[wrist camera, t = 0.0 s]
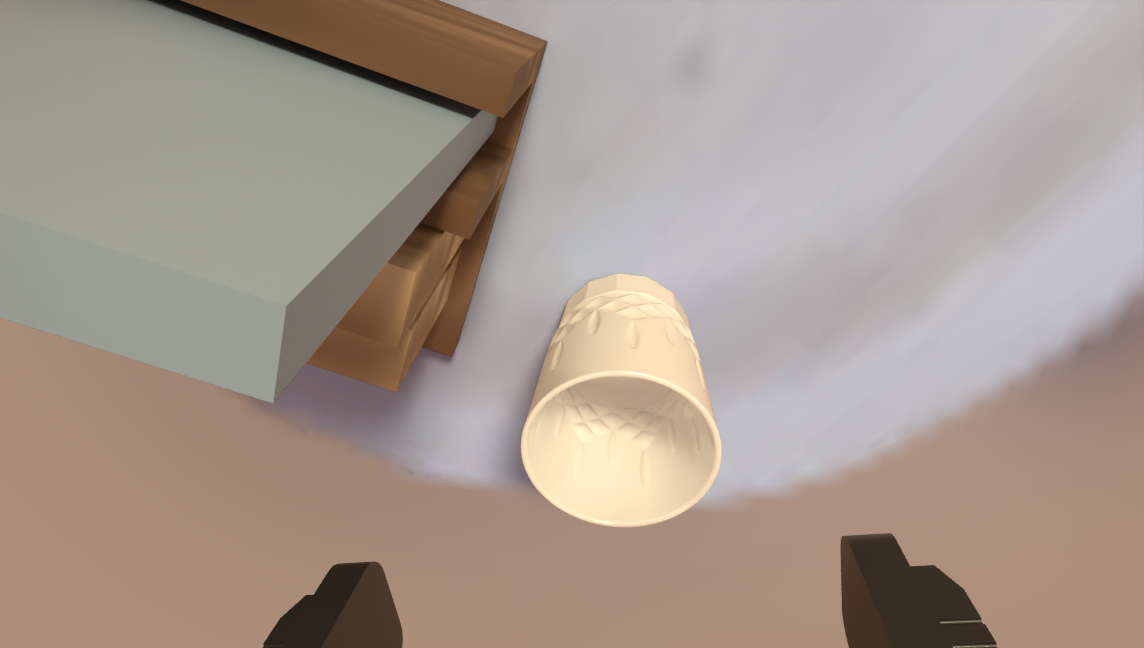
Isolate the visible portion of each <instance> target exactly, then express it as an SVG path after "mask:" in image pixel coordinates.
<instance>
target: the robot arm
mask: <svg viewBox="0 0 1144 648" xmlns="http://www.w3.org/2000/svg"><path fill="white" fill-rule="evenodd" d="M841 585H842V614H843V622H844V628H845V633H846V638H847V641H848V645H849V648H997V645H996V642H995V640H994V638H993V637H992V635H991V633H990V632H989V630H988V628H987V627H986V625H985V624H983V623H982V620H981V617H980V615H979V614H978V612H977V610H976V609H975V607H974V605H973V604H972V602H971V601H970V599H969V597H968V596H967V594H966V592H965V591H964V589H963V588H961V587H960V586H959V585H958V584H956V583H955V582H954V581H953V580H952V579H950V578H949V577H948V576H947V575H945V574H944V573H943V572H942V571H941V570H939V569H938V568H937V567H936V566H934V565H930V566H910V565H909V563H908V562H907V560H906V558H905V556H904V554H903V552H902V550H901V548H900V546H899V545H898V543H897V541H896V539H895V537H894V536H893V535H892V534H890V533H886V534H870V535H852V536H842V539H841ZM402 637H403V636H402V628H401V624H400V620H399V617H398V614H397V611H396V608H395V605H394V602H393V598H392V595H391V592H390V589H389V586H388V583H387V580H386V577H385V573H384V571H383V568H382V566H381V565H380V564H379V563H378V562H360V563H343V564H336V565H334V566H333V567H332V568H331V569H330V570H329V572H328V573H327V575H326V576H325V578H324V579H323V581H322V583H321V584H320V586H319V587H318V589H317V591H316V592H315V594H314V595H306V596H305V597H304V598H303V599H301V600H300V601H299V602H298V603H297V604H296V605H295V606H293V607H292V608H291V609H290V610H289V611H288V612H287V613H286V614H285V615H283V616H282V617H281V618H280V620H279V621H278V623H277V624H276V626H275V627H274V629H273V630H272V632H271V633H270V635H269V636H268V638H267V639H266V641H265V642H264V646H263V648H402V641H403V638H402Z"/></svg>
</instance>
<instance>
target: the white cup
mask: <svg viewBox="0 0 1144 648" xmlns="http://www.w3.org/2000/svg"><path fill="white" fill-rule="evenodd" d="M721 454H722V449H721V440H720V436H719V432H718V428H717V424H716V420H715V416H714V412H713V408H712V404H711V400H710V396H709V392H708V388H707V384H706V380H705V376H704V372H703V368H702V365H701V362H700V359H699V355H698V351H697V347H696V344H695V342H694V339H693V336H692V334H691V332H690V327H689V323H688V318H687V315H686V313H685V312H684V310H683V308H682V307H681V305H680V304H679V302H678V300H677V299H676V297H675V296H674V294H673V293H672V292H671V291H670V290H668V289H666V288H665V287H663V286H661V285H660V284H658V283H656V282H655V281H653V280H651V279H650V278H648V277H644V276H636V275H627V274H619V273H616V274H613V275H610V276H606V277H603V278H600V279H596V280H593V281H590V282H588V283H587V284H586V285H585V286H583V287H582V288H581V289H580V290H579V291H578V292H577V293H576V294H574V295H573V296H572V297H571V298H570V299H569V300H568V302H567V304H566V307H565V310H564V312H563V315H562V318H561V320H560V323H559V326H558V329H557V331H556V332H555V333H554V335H553V338H552V341H551V344H550V347H549V349H548V351H547V354H546V357H545V360H544V363H543V367H542V370H541V373H540V376H539V380H538V383H537V386H536V389H535V393H534V396H533V399H532V403H531V406H530V409H529V412H528V415H527V419H526V422H525V425H524V428H523V432H522V437H521V456H522V461H523V465H524V468H525V470H526V473H527V475H528V477H529V479H530V480H531V482H532V483H533V485H534V486H535V488H536V489H537V490H538V491H539V492H540V494H541V495H542V496H543V497H544V498H546V499H547V500H548V501H549V502H550V503H552V504H553V505H554V506H555V507H557V508H558V509H560V510H562V511H563V512H565V513H567V514H569V515H571V516H573V517H575V518H578V519H581V520H583V521H586V522H590V523H593V524H598V525H603V526H610V527H639V526H646V525H651V524H655V523H659V522H662V521H665V520H668V519H670V518H673V517H675V516H677V515H679V514H681V513H683V512H684V511H686V510H687V509H689V508H690V507H692V506H693V505H694V504H696V503H697V502H698V501H699V500H700V499H701V498H702V497H703V496H704V495H705V494H706V492H707V491H708V490H709V488H710V487H711V485H712V484H713V482H714V480H715V478H716V476H717V473H718V471H719V467H720V463H721Z"/></svg>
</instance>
